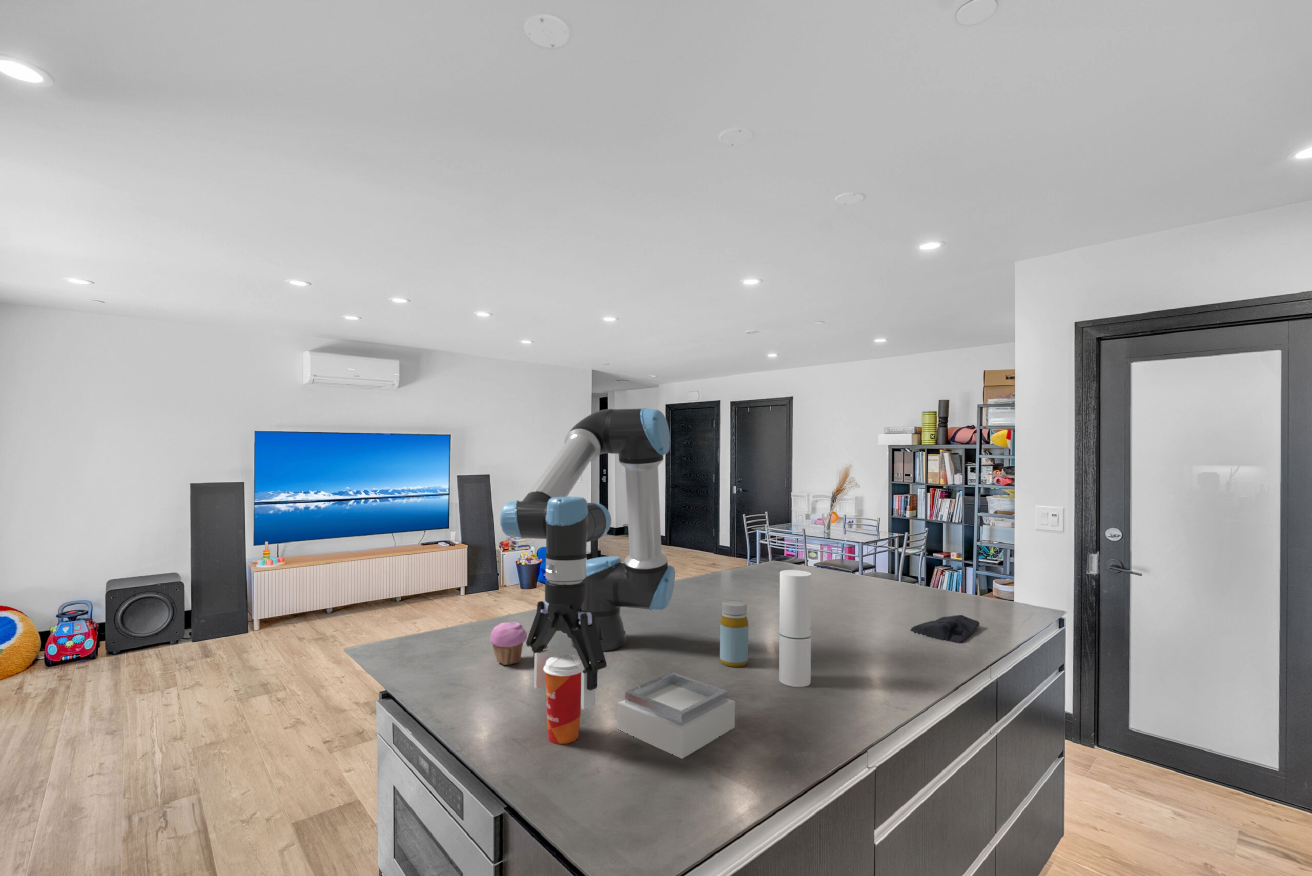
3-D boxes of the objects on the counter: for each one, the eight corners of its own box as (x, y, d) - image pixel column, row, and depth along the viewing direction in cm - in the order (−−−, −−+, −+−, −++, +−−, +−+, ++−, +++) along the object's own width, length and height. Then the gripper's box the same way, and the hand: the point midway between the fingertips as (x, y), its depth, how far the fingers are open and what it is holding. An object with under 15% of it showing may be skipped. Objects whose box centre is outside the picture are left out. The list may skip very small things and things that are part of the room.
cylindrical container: (811, 677, 140) (812, 571, 140) (809, 688, 133) (809, 577, 134) (781, 673, 142) (781, 568, 143) (777, 684, 135) (777, 574, 136)
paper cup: (544, 727, 113) (545, 653, 113) (585, 726, 114) (586, 653, 114) (540, 748, 105) (541, 668, 106) (583, 746, 106) (584, 668, 106)
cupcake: (532, 662, 148) (533, 622, 148) (502, 671, 141) (503, 629, 141) (512, 654, 154) (513, 615, 154) (482, 662, 147) (483, 622, 147)
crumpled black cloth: (989, 631, 180) (989, 615, 180) (959, 646, 165) (959, 629, 165) (938, 620, 191) (938, 605, 191) (906, 633, 177) (906, 617, 177)
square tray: (617, 728, 113) (617, 691, 113) (671, 702, 125) (671, 669, 125) (682, 758, 102) (682, 717, 102) (734, 727, 114) (735, 690, 114)
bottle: (747, 668, 145) (747, 607, 145) (718, 666, 146) (719, 605, 147) (748, 659, 152) (749, 600, 152) (721, 656, 153) (721, 598, 153)
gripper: (509, 573, 116) (507, 683, 115) (596, 594, 99) (593, 723, 98) (540, 568, 121) (538, 673, 121) (627, 587, 105) (625, 709, 104)
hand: (563, 696), depth 109 cm, fingers open, 13 cm apart
